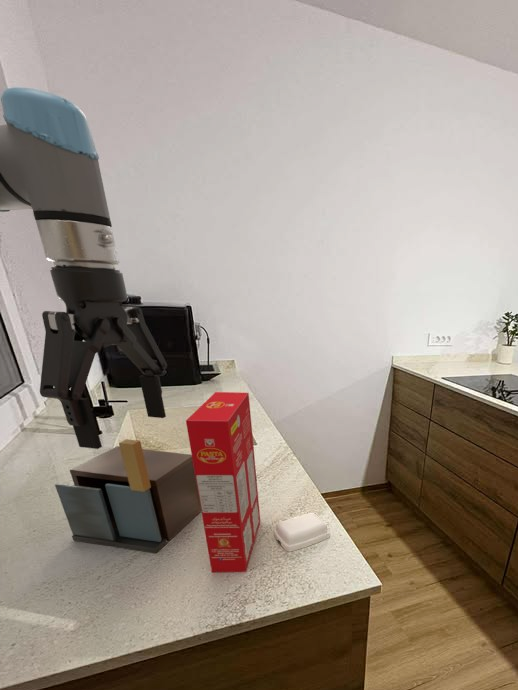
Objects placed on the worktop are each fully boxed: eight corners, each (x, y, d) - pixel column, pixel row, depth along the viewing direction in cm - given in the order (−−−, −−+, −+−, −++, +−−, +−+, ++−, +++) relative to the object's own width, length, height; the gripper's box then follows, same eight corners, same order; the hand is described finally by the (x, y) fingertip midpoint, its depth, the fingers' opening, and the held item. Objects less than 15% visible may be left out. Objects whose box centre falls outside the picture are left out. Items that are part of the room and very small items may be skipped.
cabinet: (73, 540, 67) (50, 478, 61) (131, 500, 80) (117, 446, 74) (156, 553, 65) (140, 490, 59) (203, 509, 77) (193, 454, 72)
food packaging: (232, 521, 74) (215, 392, 63) (260, 521, 74) (248, 392, 63) (211, 572, 61) (185, 420, 50) (245, 571, 61) (227, 421, 50)
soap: (287, 553, 66) (286, 539, 65) (271, 534, 71) (270, 520, 69) (332, 537, 71) (332, 523, 69) (314, 520, 76) (314, 507, 74)
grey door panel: (117, 537, 66) (88, 439, 58) (124, 532, 67) (96, 435, 59) (157, 544, 65) (133, 444, 57) (163, 538, 66) (140, 440, 58)
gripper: (13, 260, 36) (80, 467, 45) (175, 271, 58) (197, 409, 67) (-54, 258, 37) (26, 460, 46) (130, 269, 59) (158, 405, 68)
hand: (127, 430), depth 57 cm, fingers open, 13 cm apart
